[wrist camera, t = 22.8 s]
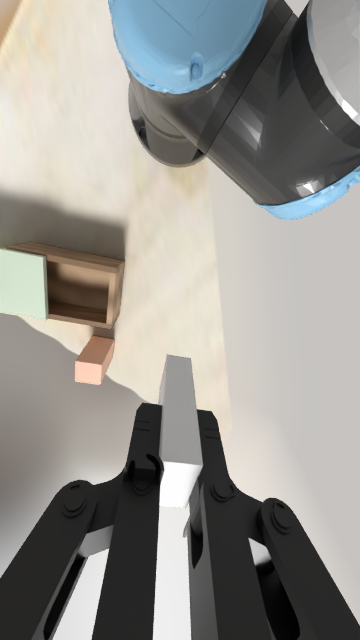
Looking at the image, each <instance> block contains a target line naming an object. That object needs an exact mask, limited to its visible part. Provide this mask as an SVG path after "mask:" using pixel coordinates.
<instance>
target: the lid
mask: <svg viewBox="0 0 360 640" xmlns="http://www.w3.org/2000/svg"><path fill="white" fill-rule="evenodd" d="M0 313H6V314H12V315H18V316H24V317H30V318H36V319H42V320H47V319H48V318H49V315H48V292H47V268H46V256H41V255H35V254H30V253H25V252H20V251H15V250H10V249H5V248H0Z"/></svg>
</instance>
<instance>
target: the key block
mask: <svg viewBox="0 0 360 640" xmlns="http://www.w3.org/2000/svg"><path fill="white" fill-rule="evenodd" d="M114 340H115V339H109V338H103V337H97V336H92V338H91V339H90V340H89V342H88V343H87V345H86V346H85V348H84V349H83V351H82V352H81V354H80V355H79V356H78V358H77V359H76V361H75V381H76V382H84V383H90V384H97V385H100V384H101V382H102V380H103V378H104V376H105V373H106V371H107V369H108V367H109V364H110V362H111V360H112V358H113V350H114Z"/></svg>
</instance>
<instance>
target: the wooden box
mask: <svg viewBox="0 0 360 640" xmlns="http://www.w3.org/2000/svg"><path fill="white" fill-rule="evenodd" d="M6 249H10V250H15V251H20V252H25V253H30V254H35V255H41V256H46V268H47V292H48V315H49V318H48V319H54V320H60V321H66V322H72V323H78V324H84V325H90V326H96V327H102V328H108V329H112V327H113V325H114V323H115V321H116V320H117V318H118V316H119V313H120V303H121V293H122V283H123V273H124V263H125V261H123V260H118V259H113V258H108V257H103V256H98V255H93V254H88V253H83V252H78V251H73V250H68V249H63V248H58V247H53V246H48V245H43V244H38V243H33V242H28V243H22V244H16V245H10V246H6Z"/></svg>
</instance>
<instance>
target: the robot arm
mask: <svg viewBox="0 0 360 640" xmlns="http://www.w3.org/2000/svg"><path fill="white" fill-rule="evenodd" d="M108 4H109V9H110V13H111V17H112V25H113V31H114V38H115V42H116V45H117V48H118V51H119V53H120V54H121V57H122V59H123V60H124V63H125V66H126V69H127V72H128V75H129V78H130V84H129V111H130V116H131V120H132V124H133V127H134V129H135V132H136V134H137V136H138V138H139V140H140V142H141V144H142V145H143V147H144V148H145V149H146V151H147V152H148V153H149V154H150V155H151V156H152V157H153V158H155V159H156V160H157V161H159V162H161V163H163V164H165V165H168V166H171V167H187V166H191V165H194V164H196V163H198V162H199V161H201V160H202V159H204V158H205V157H206V156H207V157H208V158H209V159H210V160H211V161H212V162H213V163H214V164H215V165H216V166H218V167H219V168H220V169H221V170H222V171H223V172H224V173H225V174H226V175H227V176H228V177H229V178H231V179H232V180H233V181H234V182H235V183H236V184H237V185H238V186H239V187H240V188H241V189H242V190H244V191H245V192H246V193H247V194H248V195H249V196H250V197H251V198H252V199H253V201H254V202H255V203H256V204H257V205H259V206H260V207H263V208H265V209H266V210H267V211H268V212H270V213H271V214H272V215H273V216H275V217H277V218H279V219H283V220H294V219H299V218H303V217H306V216H308V215H311V214H313V213H315V212H317V211H319V210H321V209H323V208H325V207H326V206H328V205H330V204H332V203H333V202H335V201H336V200H338V199H339V198H340V197H342V196H343V195H345V194H346V193H347V192H348V190H349V187H350V186H352V185H354V184H356V183H359V182H360V0H310V1H309V2H308V4H307V5H306V7H305V8H304V10H303V12H302V13H301V15H300V17H299V18H298V17H297V16H296V15H295V14H294V13H293V11H292V10H291V9H290V7H289V6H288V5H287V4H286V2H285V1H284V0H108ZM188 503H189V506H190V516H189V519H188V521H187V524H186V526H185V529H184V533H183V537H186V536H187V537H188V560H189V589H190V615H191V640H360V625H359V624H358V622H357V620H356V619H355V617H354V615H353V613H352V612H351V610H350V608H349V607H348V605H347V603H346V601H345V600H344V598H343V596H342V594H341V593H340V591H339V589H338V587H337V586H336V584H335V582H334V581H333V579H332V577H331V576H330V574H329V572H328V570H327V569H326V567H325V565H324V563H323V562H322V560H321V558H320V557H319V555H318V553H317V551H316V550H315V548H314V546H313V544H312V543H311V541H310V539H309V537H308V536H307V534H306V532H305V531H304V529H303V527H302V526H301V524H300V522H299V520H298V519H297V517H296V515H295V514H294V513H293V511H292V510H291V509H290V507H288V506H287V505H286V504H285V503H284V502H283V501H280V500H279V499H276V498H268V499H266V500H265V501H264V502H261V501H259V500H256V499H254V498H252V497H250V496H248V495H246V494H245V493H243V492H241V491H240V490H239V489H238V488H237V487H236V486H235V484H234V483H233V481H232V480H231V479H230V477H229V474H228V470H227V465H226V461H225V456H224V451H223V446H222V442H221V437H220V432H219V427H218V422H217V419H216V418H215V416H214V415H213V413H212V411H205V410H198V409H197V408H196V400H195V391H194V382H193V373H192V365H191V358H186V357H179V356H173V355H167V357H166V361H165V366H164V371H163V375H162V380H161V385H160V390H159V402H158V405H157V404H149V403H142V404H141V405H140V407H139V408H138V409H137V411H136V416H135V422H134V427H133V432H132V437H131V442H130V447H129V452H128V457H127V462H126V465H125V467H124V469H123V470H122V472H121V473H120V474H119V475H118V476H117V477H115V478H114V479H112V480H110V481H107V482H104V483H100V484H96V485H92V484H91V483H89V482H88V481H84V480H77V481H73V482H70V483H69V484H67V485H65V486H64V487H62V489H61V490H60V491H59V492H58V493H57V494H56V495H55V497H54V498H53V500H52V501H51V503H50V504H49V506H48V507H47V509H46V510H45V512H44V513H43V515H42V516H41V518H40V519H39V521H38V522H37V524H36V525H35V527H34V529H33V530H32V531H31V533H30V534H29V536H28V537H27V539H26V541H25V542H24V543H23V545H22V546H21V548H20V549H19V551H18V553H17V554H16V556H15V557H14V559H13V560H12V562H11V563H10V565H9V566H8V568H7V569H6V571H5V572H4V574H3V575H2V577H1V578H0V640H52V639H53V636H54V634H55V632H56V630H57V627H58V625H59V623H60V620H61V618H62V616H63V613H64V611H65V609H66V607H67V604H68V602H69V600H70V598H71V595H72V593H73V591H74V589H75V586H76V584H77V582H78V579H79V577H80V575H81V573H82V570H83V568H84V566H85V563H86V561H87V559H88V557H89V556H90V555H93V554H96V553H98V552H101V551H103V550H106V549H108V548H109V553H108V558H107V564H106V569H105V573H104V579H103V584H102V589H101V595H100V599H99V604H98V609H97V615H96V620H95V625H94V630H93V635H92V640H153V622H154V602H155V581H156V563H157V562H156V561H157V542H158V522H159V506H170V507H183V508H186V507H187V505H188Z"/></svg>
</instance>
